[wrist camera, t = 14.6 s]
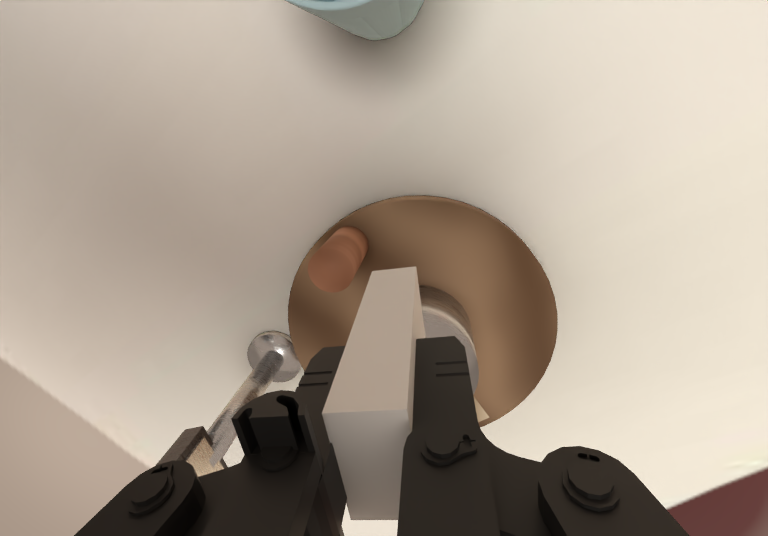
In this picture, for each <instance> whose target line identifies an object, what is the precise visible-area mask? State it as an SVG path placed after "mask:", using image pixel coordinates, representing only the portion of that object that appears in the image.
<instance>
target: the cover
mask: <svg viewBox="0 0 768 536" xmlns="http://www.w3.org/2000/svg"><path fill="white" fill-rule="evenodd" d="M419 291H420V299H421V306H422V314H423V321H424V328H425V336H426V338H433V337H446V336H455V337H456V338H457V339H458V340H459V341H460V342H461V343H462V344H463V345H464V346H465V350H466V356H467V362H468V367H469V374H470V379H471V385H472V390H473V395H474V393H475V390H476V388H477V384H478V380H479V368H478V362H477V356H476V351H475V345H474V340H473V335H472V329H471V324H470V320H469V317H468V315H467V313H466V311H465V310H464V308H463V307H462V305H461V304H460V303H459V302H458V301H457V300H456V299H455V298H454V297H452V296H451V295H450V294H448V293H446V292H444V291H443V290H440V289H438V288H435V287H431V286H425V285H419Z"/></svg>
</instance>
